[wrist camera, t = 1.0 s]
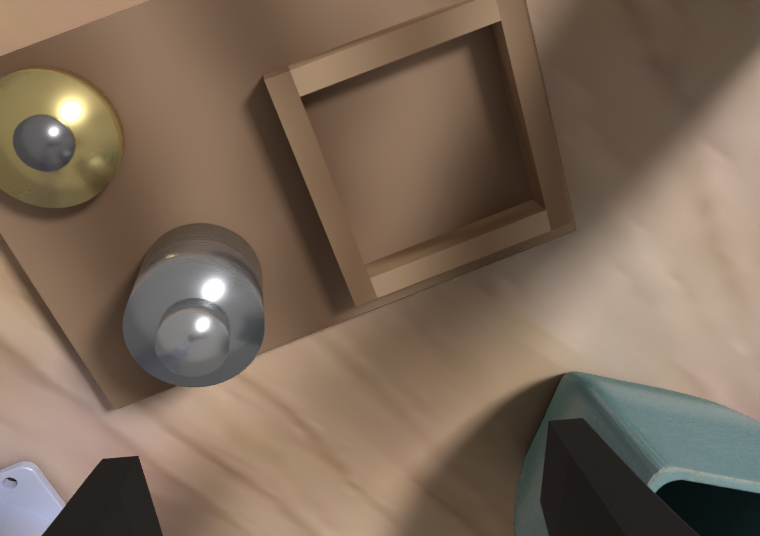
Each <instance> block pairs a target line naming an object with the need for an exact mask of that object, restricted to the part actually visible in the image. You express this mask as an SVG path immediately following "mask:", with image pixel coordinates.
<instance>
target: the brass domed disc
mask: <svg viewBox="0 0 760 536" xmlns="http://www.w3.org/2000/svg"><path fill="white" fill-rule="evenodd" d="M124 146H125V138H124V131H123V126H122V123H121V120H120V117H119V115H118V113H117V111H116V109H115V107H114V106H113V104H112V103H111V101H110V100H109V99H108V97H107V96H106V95H105V94H104V93H103V92H102V91H101V90H100V89H99V88H98V87H97V86H95V85H94V84H93V83H92V82H90V81H88V80H87V79H85V78H84V77H82V76H80V75H78V74H76V73H73V72H70V71H68V70H65V69H60V68H56V67H47V66H40V67H30V68H25V69H22V70H18V71H16V72H13V73H11V74H9V75H6V76H4V77H2V78H0V189H2V190H3V191H4V192H6V193H7V194H9V195H11V196H12V197H14V198H16V199H18V200H20V201H23V202H25V203H28V204H31V205H35V206H40V207H45V208H65V207H71V206H75V205H78V204H81V203H84V202H86V201H88V200H90V199H91V198H93V197H95V196H96V195H97V194H99V193H100V192H101V191H102V190H103V189H104V188H105V187H106V186H107V185H108V183H109V182H110V180H111V179H112V177H113V176H114V174H115V173H116V171H117V170H118V168H119V166H120V163H121V161H122V157H123V154H124Z"/></svg>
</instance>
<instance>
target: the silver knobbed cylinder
mask: <svg viewBox="0 0 760 536" xmlns="http://www.w3.org/2000/svg"><path fill="white" fill-rule="evenodd" d="M264 330H265V322H264V300H263V278H262V269H261V264H260V262H259V259H258V257H257V255H256V253H255V251H254V250H253V248H252V247H251V246H250V245H249V244H248V242H247V241H246V240H245V239H243V238H242V237H241V236H240V235H238V234H237V233H235V232H233V231H232V230H229V229H227V228H225V227H222V226H219V225H214V224H209V223H192V224H186V225H182V226H179V227H176V228H174V229H172V230H169V231H168V232H166V233H165V234H163V235H162V236H160V237H159V238H158V239H157V240H156V241H155V242H154V243H153V244H152V245H151V247H150V248H149V250H148V251H147V253H146V255H145V257H144V260H143V263H142V265H141V268H140V271H139V273H138V276H137V279H136V282H135V284H134V287H133V290H132V292H131V295H130V298H129V301H128V303H127V306H126V309H125V312H124V317H123V335H124V340H125V343H126V346H127V348H128V350H129V352H130V354H131V355H132V357H133V358H134V359H135V361H136V362H137V363H138V364H139V365H140V366H141V367H142V368H143V369H144V370H145V371H147V372H148V373H149V374H151V375H153V376H154V377H156V378H158V379H160V380H162V381H164V382H167V383H170V384H174V385H178V386H184V387H205V386H211V385H216V384H219V383H222V382H224V381H227V380H229V379H231V378H233V377H234V376H236V375H238V374H239V373H240V372H242V371H243V370H244V369H246V367H247V366H248V365H249V364H250V363H251V362H252V361H253V360H254V358H255V357H256V355H257V354H258V352H259V350H260V347H261V345H262V342H263V338H264Z"/></svg>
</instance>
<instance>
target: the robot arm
mask: <svg viewBox="0 0 760 536" xmlns="http://www.w3.org/2000/svg"><path fill="white" fill-rule="evenodd" d="M9 477H11V478H14V479H16V480H17V481H14V482H13V481H9V480H8V479H7V478H9ZM540 503H541V507H542V511H543V515H544V519H545V523H546V527H547V531H548V534H549V536H700V535H698V534H697V533H696V532H695V531H694V530H693V529H692V528H691V527H690V526H689V525H688V524H687V523H685V522H684V521H683V520H682V519H681V518H680V517H679V516H678V515H677V514H676V513H675V512H674V511H673V510H672V509H671V508H670V507H669V506H668V505H667V504H666V503H665V502H664V501H663V500H662V499H661V498H659V497H658V496H657V495H656V494H655V493H654V492H653V491H652V490H651V489H650V488H649V487H648V486H647V485H646V484H645V483H644V482H643V481H642V480H641V479H640V478H639V477H638V476H637V475H636V473H635V472H634V471H633V470H632V469H631V468H630V467H629V466H628V465H627V464H626V463H625V462H624V461H623V460H622V459H621V458H620V457H619V456H618V455H617V454H616V452H615V451H614V450H613V449H612V448H611V447H610V446H609V445H608V444H607V443H606V442H605V441H604V440H603V439H602V437H601V436H600V435H599V434H598V433H597V432H596V431H595V430H594V429H593V428H592V427H591V426H590V424H589V423H588V422H587V421H585V420H584V419H583V418H575V419H563V420H552V421H548V430H547V440H546V449H545V459H544V468H543V477H542V487H541V496H540ZM0 536H163V534H162V531H161V528H160V524H159V521H158V518H157V515H156V512H155V508H154V505H153V502H152V499H151V495H150V492H149V489H148V486H147V482H146V479H145V476H144V473H143V469H142V466H141V463H140V460H139V457H138V456H132V457H120V458H109V459H102V460H101V462H100V463H99V464H98V465H97V466H96V467H95V469H94V470H93V471H92V472H91V474H90V475H89V476H88V477H87V479H86V480H85V481H84V482H83V484H82V485H81V486H80V488H79V489H78V490H77V491H76V493H75V494H74V495H73V497H72V498H71V499H70V500H69V502H68V503H67V504H65V503H64V501H63V500H62V499H61V497H60V496H59V495H58V493H57V492H56V491H55V489H54V488H53V487H52V485H51V484H50V483H49V481H48V480H47V479H46V477H45V476H44V475H43V473H42V472H41V471H40V469H39V468H38V467H37V466H36V465H35V464H33V463H31V462H26V461H22V462H18V463H15V464H13V465H10V466H8V467H5V468H3V469H0Z"/></svg>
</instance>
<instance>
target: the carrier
mask: <svg viewBox="0 0 760 536" xmlns="http://www.w3.org/2000/svg"><path fill="white" fill-rule="evenodd" d="M40 66H47V67H56V68H60V69H65V70H68V71H70V72H73V73H76V74H78V75H80V76H82V77H84V78H85V79H87V80H88V81H90V82H92V83H93V84H94V85H95V86H97V87H98V88H99V89H100V90H101V91H102V92H103V93H104V94H105V95H106V96H107V97H108V99H109V100H110V101H111V103H112V104H113V106H114V107H115V109H116V111H117V113H118V115H119V117H120V120H121V123H122V126H123V131H124V138H125V146H124V154H123V157H122V161H121V163H120V166H119V168H118V170H117V171H116V173H115V174H114V176H113V177H112V179H111V180H110V182H109V183H108V185H107V186H106V187H105V188H104V189H103V190H102V191H101V192H100V193H99V194H97V195H96V196H95V197H93V198H91V199H90V200H88V201H86V202H84V203H81V204H78V205H75V206H71V207H65V208H45V207H40V206H35V205H31V204H28V203H25V202H23V201H20V200H18V199H16V198H14V197H12V196H11V195H9V194H7V193H6V192H4V191H3V190H2V189H0V234H1V235H2V237H3V238H4V240H5V242H6V243H7V245H8V246H9V248H10V249H11V251H12V252H13V254H14V256H15V257H16V259H17V260H18V262H19V263H20V265H21V266H22V268H23V269H24V271H25V273H26V274H27V276H28V277H29V279H30V280H31V282H32V283H33V285H34V286H35V288H36V290H37V291H38V293H39V294H40V296H41V297H42V299H43V300H44V302H45V303H46V305H47V307H48V308H49V310H50V311H51V313H52V314H53V316H54V317H55V319H56V320H57V322H58V324H59V325H60V327H61V328H62V330H63V331H64V333H65V334H66V336H67V338H68V339H69V341H70V342H71V344H72V345H73V347H74V348H75V350H76V351H77V353H78V355H79V356H80V358H81V359H82V361H83V362H84V364H85V365H86V367H87V368H88V370H89V372H90V373H91V375H92V376H93V378H94V379H95V381H96V382H97V384H98V385H99V387H100V389H101V390H102V392H103V393H104V395H105V396H106V398H107V399H108V401H109V402H110V404H111V406H112V407H113V409H114V410H116V409H119V408H121V407H124V406H126V405H129V404H131V403H134V402H136V401H139V400H142V399H144V398H147V397H149V396H152V395H154V394H157V393H160V392H162V391H165V390H167V389H170V388H172V387H175V386H178V385H174V384H170V383H167V382H164V381H162V380H160V379H158V378H156V377H154V376H153V375H151V374H149V373H148V372H147V371H145V370H144V369H143V368H142V367H141V366H140V365H139V364H138V363H137V362H136V361H135V359H134V358H133V357H132V355H131V354H130V352H129V350H128V348H127V346H126V343H125V340H124V335H123V317H124V312H125V309H126V306H127V303H128V301H129V298H130V295H131V292H132V290H133V287H134V284H135V282H136V279H137V276H138V273H139V271H140V268H141V265H142V263H143V260H144V257H145V255H146V253H147V251H148V250H149V248H150V247H151V245H152V244H153V243H154V242H155V241H156V240H157V239H158V238H159V237H160V236H162V235H163V234H165V233H166V232H168V231H169V230H172V229H174V228H176V227H179V226H182V225H186V224H192V223H209V224H214V225H219V226H222V227H225V228H227V229H229V230H232V231H233V232H235V233H237V234H238V235H240V236H241V237H242V238H243V239H245V240H246V241H247V242H248V244H249V245H250V246H251V247H252V248H253V250H254V251H255V253H256V255H257V257H258V259H259V262H260V264H261V269H262V278H263V300H264V322H265V330H264V338H263V342H262V345H261V347H260V350H259V352H258V354H260V353H262V352H265V351H267V350H270V349H273V348H275V347H278V346H280V345H283V344H285V343H288V342H291V341H293V340H296V339H298V338H301V337H303V336H306V335H309V334H311V333H314V332H316V331H319V330H321V329H324V328H327V327H329V326H332V325H334V324H337V323H339V322H342V321H345V320H347V319H350V318H352V317H355V316H357V315H360V314H363V313H365V312H368V311H370V310H373V309H375V308H378V307H380V306H383V305H386V304H388V303H391V302H393V301H396V300H398V299H401V298H404V297H406V296H409V295H411V294H414V293H416V292H419V291H422V290H424V289H427V288H429V287H432V286H434V285H437V284H440V283H442V282H445V281H447V280H450V279H452V278H455V277H458V276H460V275H463V274H465V273H468V272H470V271H473V270H476V269H478V268H481V267H483V266H486V265H488V264H491V263H494V262H496V261H499V260H501V259H504V258H506V257H509V256H511V255H514V254H517V253H519V252H522V251H524V250H527V249H529V248H532V247H535V246H537V245H540V244H542V243H545V242H547V241H550V240H553V239H555V238H558V237H560V236H563V235H565V234H568V233H571V232H573V231H576V227H575V222H574V218H573V213H572V209H571V204H570V200H569V195H568V191H567V186H566V181H565V177H564V172H563V168H562V163H561V159H560V154H559V150H558V145H557V140H556V136H555V131H554V127H553V122H552V118H551V113H550V109H549V104H548V99H547V95H546V90H545V86H544V81H543V77H542V72H541V67H540V63H539V58H538V54H537V49H536V45H535V40H534V36H533V31H532V26H531V22H530V17H529V13H528V8H527V4H526V0H150V1H147V2H145V3H142V4H139V5H137V6H134V7H131V8H129V9H126V10H123V11H121V12H118V13H115V14H113V15H110V16H107V17H105V18H102V19H99V20H97V21H94V22H91V23H89V24H86V25H83V26H81V27H78V28H75V29H73V30H70V31H67V32H65V33H62V34H59V35H57V36H54V37H51V38H49V39H46V40H43V41H40V42H38V43H35V44H32V45H30V46H27V47H24V48H22V49H19V50H16V51H14V52H11V53H8V54H6V55H3V56H0V78H2V77H4V76H6V75H9V74H11V73H13V72H16V71H18V70H22V69H25V68H30V67H40Z"/></svg>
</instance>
